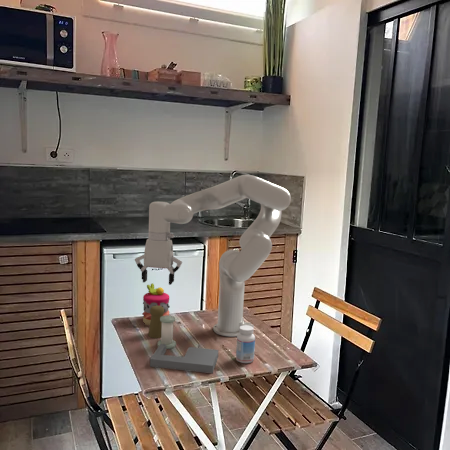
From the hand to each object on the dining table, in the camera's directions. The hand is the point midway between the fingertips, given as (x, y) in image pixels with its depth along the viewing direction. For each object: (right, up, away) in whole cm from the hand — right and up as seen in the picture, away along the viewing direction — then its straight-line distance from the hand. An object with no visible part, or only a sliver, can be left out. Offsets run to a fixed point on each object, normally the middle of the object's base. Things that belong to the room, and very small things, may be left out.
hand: (157, 282), depth 167 cm
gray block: (+11, -24, -17) cm, 31 cm away
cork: (-1, -20, +3) cm, 20 cm away
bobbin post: (+4, -21, -5) cm, 22 cm away
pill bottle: (+31, -24, -14) cm, 42 cm away
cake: (-3, -18, +16) cm, 24 cm away
